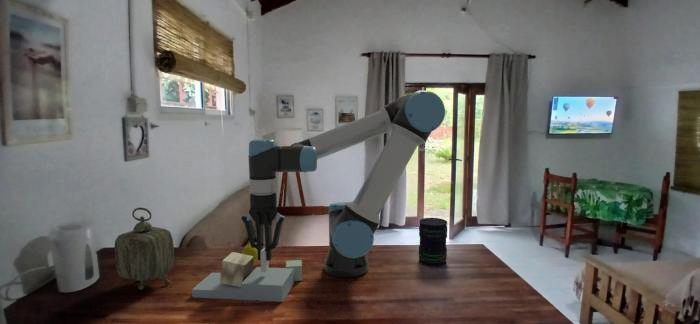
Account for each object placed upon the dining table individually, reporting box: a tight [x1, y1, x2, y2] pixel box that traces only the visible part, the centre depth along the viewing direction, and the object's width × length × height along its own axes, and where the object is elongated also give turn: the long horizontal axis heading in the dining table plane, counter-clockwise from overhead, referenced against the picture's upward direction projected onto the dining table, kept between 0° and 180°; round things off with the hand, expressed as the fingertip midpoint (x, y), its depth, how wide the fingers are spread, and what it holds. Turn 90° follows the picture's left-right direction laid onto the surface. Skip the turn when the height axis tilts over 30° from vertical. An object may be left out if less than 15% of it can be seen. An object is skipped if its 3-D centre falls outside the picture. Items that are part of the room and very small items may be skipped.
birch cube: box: [220, 251, 254, 287], centre depth 111 cm, size 7×7×7 cm
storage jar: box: [418, 217, 448, 268], centre depth 132 cm, size 10×10×15 cm
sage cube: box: [285, 259, 303, 282], centre depth 120 cm, size 5×5×5 cm
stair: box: [191, 266, 295, 303], centre depth 111 cm, size 27×12×5 cm, turn 83°
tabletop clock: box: [114, 207, 175, 291], centre depth 113 cm, size 14×9×25 cm, turn 74°
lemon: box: [241, 243, 258, 265], centre depth 130 cm, size 6×6×8 cm
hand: (265, 270), depth 110 cm, fingers closed
